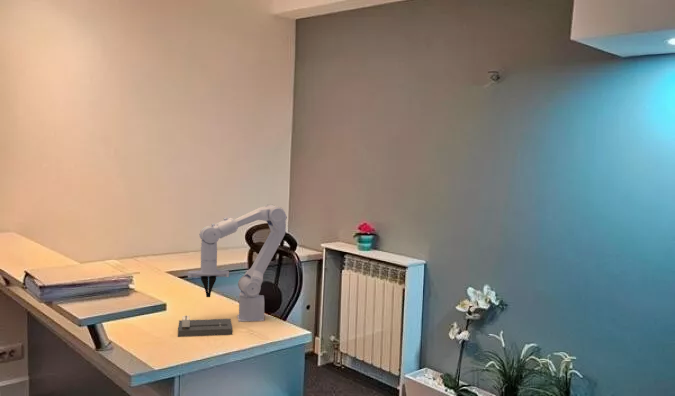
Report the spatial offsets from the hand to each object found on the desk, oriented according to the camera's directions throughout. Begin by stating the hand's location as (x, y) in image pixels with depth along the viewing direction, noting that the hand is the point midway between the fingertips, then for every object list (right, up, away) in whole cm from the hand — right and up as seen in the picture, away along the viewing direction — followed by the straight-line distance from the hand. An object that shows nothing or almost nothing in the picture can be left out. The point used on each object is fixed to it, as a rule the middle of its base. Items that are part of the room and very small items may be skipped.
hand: (208, 296), depth 215 cm
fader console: (+1, -10, -9) cm, 14 cm away
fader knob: (-5, -8, -12) cm, 15 cm away
